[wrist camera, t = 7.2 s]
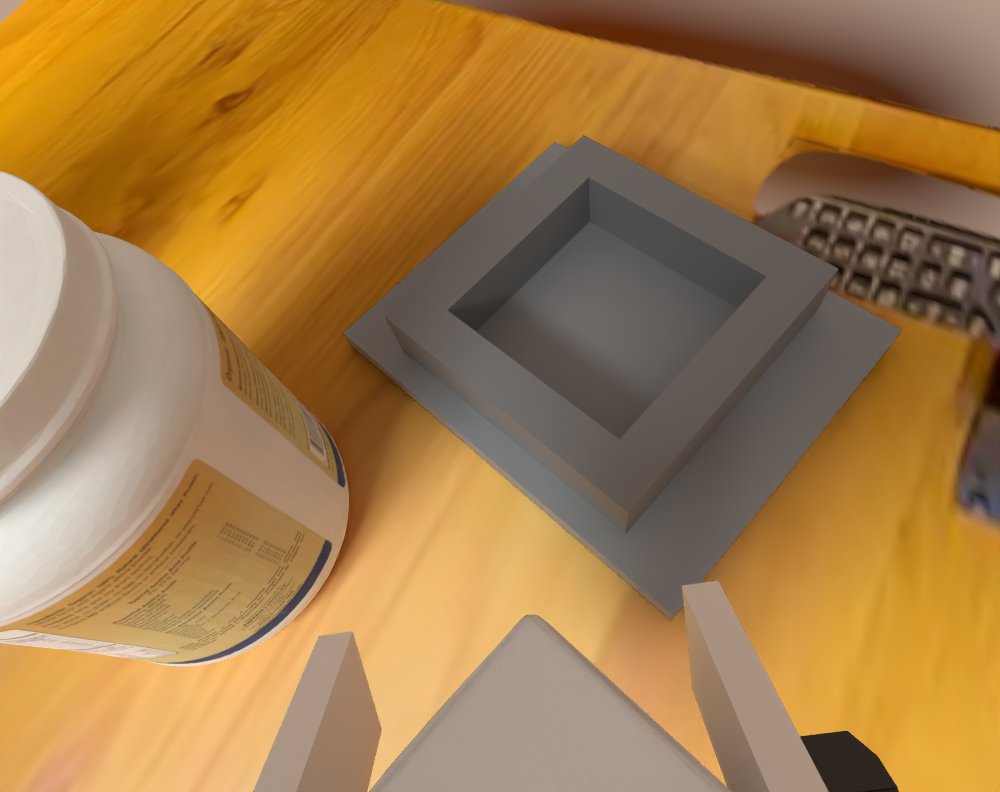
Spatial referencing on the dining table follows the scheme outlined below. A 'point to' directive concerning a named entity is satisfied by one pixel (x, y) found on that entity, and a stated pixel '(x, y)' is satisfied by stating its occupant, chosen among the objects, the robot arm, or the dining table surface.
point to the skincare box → (543, 730)
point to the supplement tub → (145, 458)
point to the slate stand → (626, 358)
